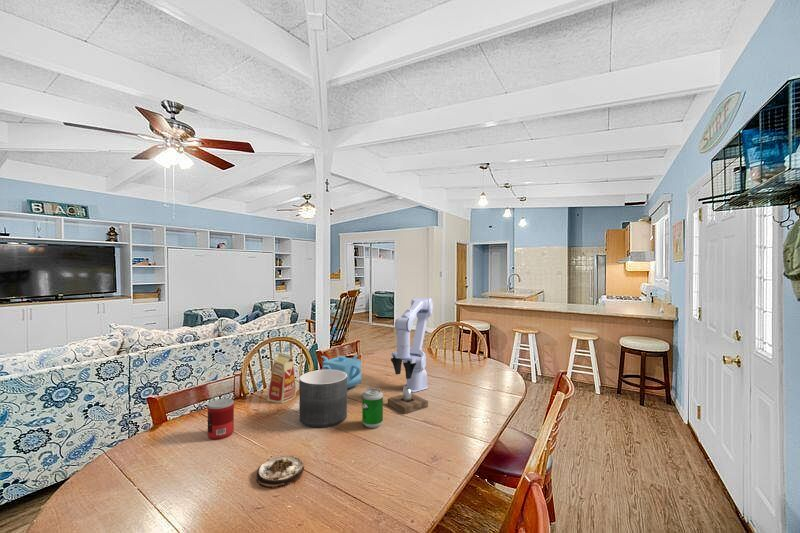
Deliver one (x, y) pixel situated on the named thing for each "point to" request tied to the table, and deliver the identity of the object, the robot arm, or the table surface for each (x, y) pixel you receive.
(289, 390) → the milk carton
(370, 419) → the soda can
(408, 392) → the long pin
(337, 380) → the planter
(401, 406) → the socket block
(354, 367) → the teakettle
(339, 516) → the table surface
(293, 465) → the sushi roll
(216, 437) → the canned food
